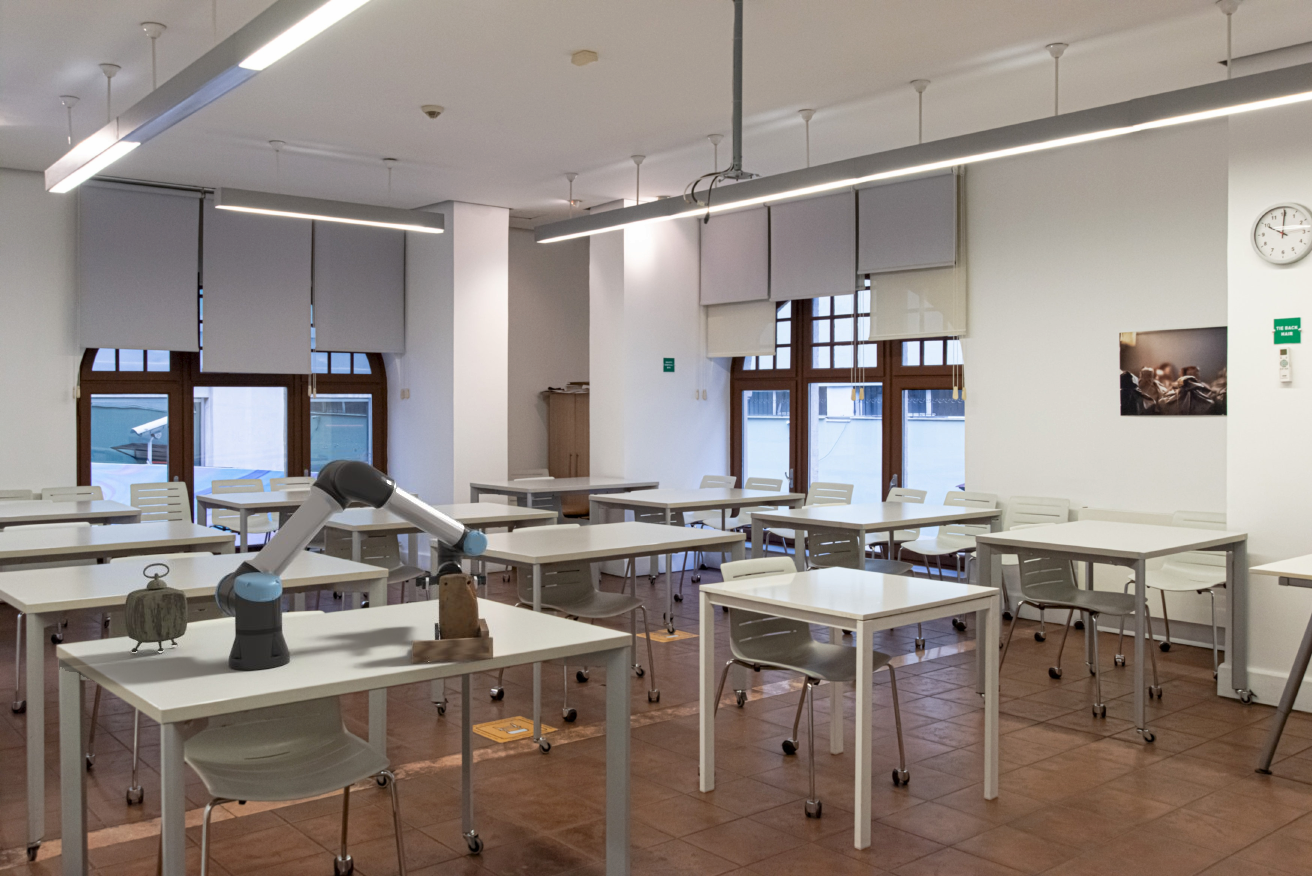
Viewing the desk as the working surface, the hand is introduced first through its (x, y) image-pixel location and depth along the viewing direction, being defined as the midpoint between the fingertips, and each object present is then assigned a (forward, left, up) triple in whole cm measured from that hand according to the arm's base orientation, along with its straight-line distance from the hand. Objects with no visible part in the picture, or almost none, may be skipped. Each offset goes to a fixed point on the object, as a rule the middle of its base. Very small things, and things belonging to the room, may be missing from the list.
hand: (451, 584), depth 291 cm
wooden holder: (0, -11, -17) cm, 20 cm away
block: (+2, -9, -16) cm, 19 cm away
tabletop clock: (-80, +14, -17) cm, 84 cm away
